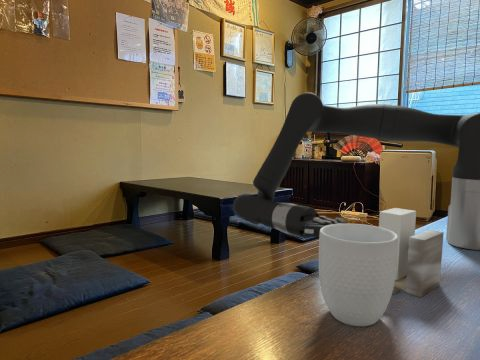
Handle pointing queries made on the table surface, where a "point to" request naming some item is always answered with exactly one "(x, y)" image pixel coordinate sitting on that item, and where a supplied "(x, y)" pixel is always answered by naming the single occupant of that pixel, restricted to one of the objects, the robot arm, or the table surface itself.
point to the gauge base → (422, 264)
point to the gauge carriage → (399, 233)
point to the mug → (357, 271)
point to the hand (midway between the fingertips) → (358, 234)
